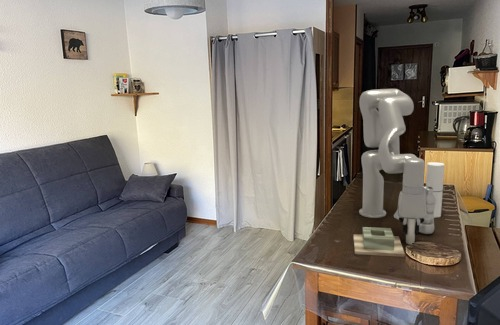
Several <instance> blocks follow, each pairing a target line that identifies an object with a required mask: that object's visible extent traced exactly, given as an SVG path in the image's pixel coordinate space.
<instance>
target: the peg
mask: <svg viewBox="0 0 500 325" xmlns="http://www.w3.org/2000/svg"><path fill="white" fill-rule="evenodd" d="M415 223H416V218H407V225H408V228H407V234H405V243H406V244H408V245H413V244H412V243H414V244H415V241H416V240H415V239H416V238H415V237H416V235H415Z"/></svg>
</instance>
